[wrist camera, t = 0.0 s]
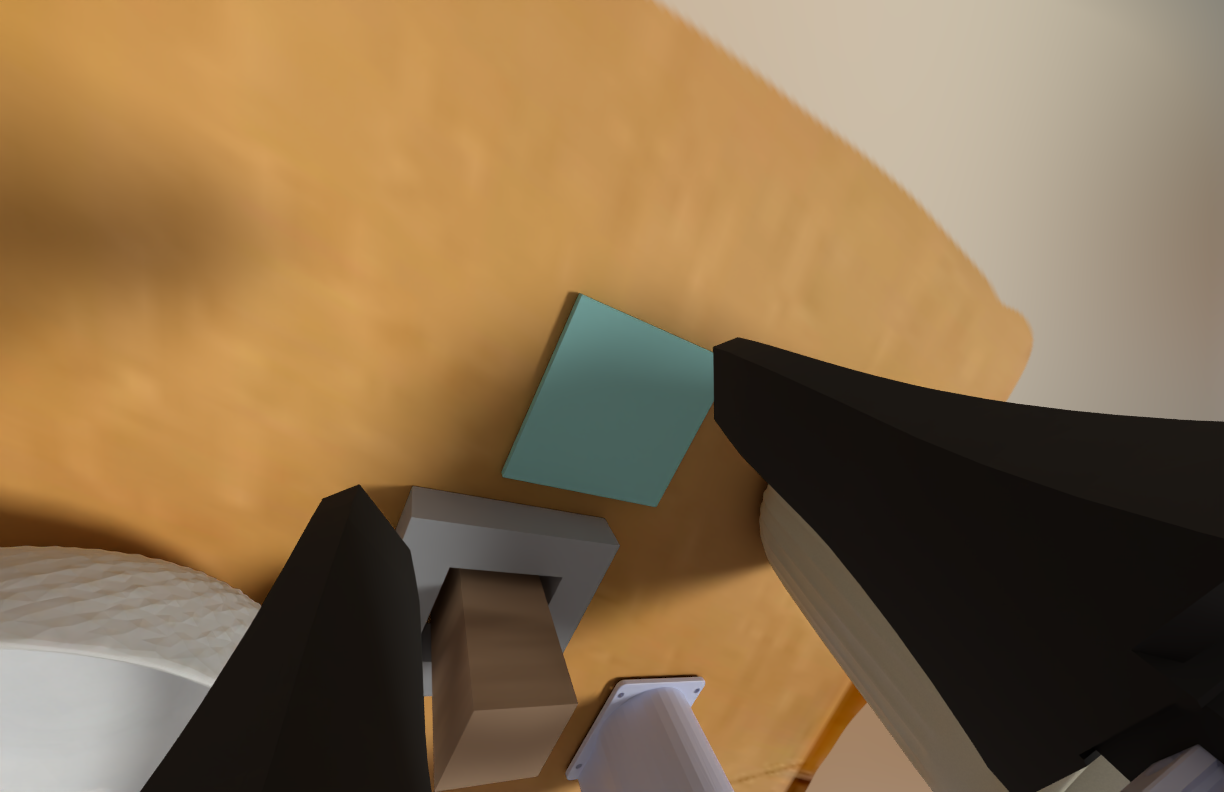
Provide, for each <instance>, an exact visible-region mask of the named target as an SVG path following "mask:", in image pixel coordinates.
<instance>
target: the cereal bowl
mask: <svg viewBox="0 0 1224 792" xmlns="http://www.w3.org/2000/svg"><path fill="white" fill-rule="evenodd" d="M260 608H261V605H260V604H259V603H257V602H254V601H253V600H252V599H250V598H249V597H248V596H247V595H245V594H243V592H242V591H241V590H240V589H236V588H232V587H231V586H230V585H229V584H228V583H226V582H223V581H219V580H217V579H216V578H214V577H211V576H208V575H207V574H205V573H204V572H202V571H196V570H193V569H192V568H190V567H185V566H180V565H177V564H175V563H173V562H168V561H164V560H162V559H153V558H148V557H145V556H143V555H141V554H126V553H122V552H117V551H107V550H102V549H83V548H77V547H60V546H48V547H36V546H18V547H0V792H140V791H141V789H142V788H143V786H144V785H145V784H146V782H147V781H148V779H149V778H150V777H151V775H152V774H153V773H154V771H155V770H156V768H157V767H158V766H159V764H160V763H161V761H162V760H163V759H164V757H165V756H166V754H167V753H168V751H169V750H170V748H171V747H172V746H173V744H174V743H175V741H176V740H177V738H178V737H179V735H180V734H181V733H182V731H183V730H184V728H185V727H186V725H187V724H188V722H189V721H190V719H191V718H192V716H193V715H194V713H195V712H196V710H197V709H198V707H199V706H200V704H201V703H202V701H203V699H204V698H205V696H206V695H207V693H208V691H209V690H210V688H211V687H212V685H213V684H214V682H215V680H216V679H217V677H218V676H219V674H220V672H221V671H222V669H223V668H224V666H225V665H226V663H227V661H228V660H229V658H230V657H231V655H232V653H233V652H234V650H235V649H236V647H237V645H238V644H239V642H240V641H241V639H242V638H243V636H244V634H245V633H246V631H247V630H248V628H249V626H250V625H251V623H252V621H253V620H254V618H255V616H256V615H257V613H258V611H259V609H260Z"/></svg>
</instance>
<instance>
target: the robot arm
mask: <svg viewBox="0 0 1224 792" xmlns="http://www.w3.org/2000/svg"><path fill="white" fill-rule="evenodd" d="M713 373H714V420H715V421H716V422H717V424H718V425H719V427H720V428H721V429H722V431H723V432H724V434H725V435H726V436H727V438H728V439H729V440H730V442H731V443H732V444H733V446H734V447H735V448H736V450H737V451H738V452H739V453H740V455H741V456H742V457H743V458H744V459H745V460H746V461H747V462H748V463H749V464H750V465H751V466H752V467H753V468H754V469H755V470H756V471H757V473H758V474H759V475H760V476H761V477H762V478H763V479H764V480H765V481H766V482H767V483H768V484H769V485H770V486H771V487H772V488H773V489H774V490H775V491H776V492H777V493H778V494H779V495H780V496H781V497H782V498H783V499H784V500H785V501H786V502H787V503H788V504H789V505H790V506H791V507H792V508H793V509H794V510H795V511H796V512H797V513H798V514H799V515H800V516H801V517H802V518H803V519H804V521H805V522H806V523H807V524H808V525H809V526H810V527H811V528H812V529H813V530H814V531H815V532H816V533H817V534H818V535H819V536H820V537H821V539H822V540H823V541H824V542H825V543H826V544H827V545H828V546H829V547H830V549H831V550H832V551H833V552H834V554H835V555H836V556H837V557H838V559H839V560H840V561H841V562H842V564H843V565H844V566H845V567H846V569H847V570H848V571H849V572H850V574H851V575H852V576H853V577H854V578H855V580H856V581H857V582H858V583H859V585H860V586H861V587H862V589H863V590H864V591H865V592H866V594H867V595H868V596H869V598H870V599H871V600H872V602H873V603H874V604H875V606H876V607H877V608H878V609H879V611H880V612H881V613H882V615H883V616H884V617H885V619H886V620H887V621H888V623H889V624H890V625H891V627H892V628H893V629H894V630H895V632H896V633H897V635H898V636H899V637H900V639H901V640H902V642H903V643H904V644H905V646H906V647H907V649H908V650H909V651H910V653H911V654H912V656H913V657H914V658H915V660H916V661H917V663H918V664H919V665H920V667H921V668H922V669H923V671H924V672H925V674H926V675H927V676H928V678H929V679H930V681H931V682H932V684H933V685H934V686H935V688H936V689H937V691H938V692H939V694H940V695H941V697H942V698H943V700H944V701H945V703H946V704H947V706H948V707H949V709H950V710H951V712H952V713H953V715H954V716H955V718H956V719H957V721H958V722H959V724H960V725H961V727H962V728H963V730H964V731H965V733H966V734H967V736H968V737H969V739H970V740H971V742H972V743H973V745H974V747H975V748H976V750H977V751H978V753H979V754H980V756H981V758H982V759H983V761H984V762H985V764H986V765H987V767H988V768H989V770H990V771H991V772H992V773H993V774H994V775H995V776H996V777H997V779H998V780H999V781H1000V782H1001V783H1002V784H1003V785H1004V786H1005V788H1006V789H1007V790H1008V791H1009V792H1037V791H1039V790H1041V789H1043V788H1045V787H1047V786H1049V785H1051V784H1053V783H1055V782H1057V781H1059V780H1061V779H1063V778H1065V777H1067V776H1069V775H1071V774H1073V773H1075V772H1077V771H1079V770H1081V769H1083V768H1085V767H1087V766H1088V765H1089V764H1091V763H1092V762H1093V761H1094V760H1095V759H1097V758H1098V757H1099V756H1100V755H1102V756H1103V757H1104V758H1105V759H1106V760H1107V761H1108V762H1110V763H1111V764H1112V765H1113V766H1114V767H1115V768H1116V769H1117V770H1118V771H1119V772H1120V773H1121V774H1122V775H1123V776H1125V777H1126V778H1127V779H1128V780H1129V781H1130V782H1131V783H1129V784H1128V785H1127V786H1126V787H1125V788H1123V789H1122V790H1121V791H1120V792H1224V422H1219V421H1217V422H1216V421H1194V420H1177V419H1164V418H1150V417H1137V416H1123V415H1112V414H1101V413H1091V412H1080V411H1071V410H1063V409H1055V408H1047V407H1039V406H1031V405H1023V404H1015V403H1009V402H1002V401H996V400H989V399H983V398H978V397H972V396H967V395H961V394H956V393H950V392H945V391H940V390H935V389H930V388H925V387H920V386H916V385H911V384H907V383H903V382H899V381H895V380H891V379H887V378H882V377H878V376H874V375H870V374H867V373H863V372H859V371H855V370H852V369H848V368H845V367H841V366H837V365H834V364H831V363H827V362H824V361H820V360H817V359H813V358H810V357H807V356H803V355H800V354H797V353H793V352H790V351H787V350H783V349H780V348H777V347H773V346H770V345H766V344H763V343H759V342H755V341H751V340H747V339H743V338H738V337H737V338H735V339H732V340H730V341H727V342H725V343H722V344H719V345H717V346H714V347H713ZM704 685H705V681H704V679H703V678H702V677H680V678H654V679H629V680H621V681H619V682H618V683H617V684H616V686H615V688H614V689H613V691H612V693H611V694H610V696H609V698H608V700H607V701H606V703H605V705H604V707H603V708H602V710H601V712H600V713H599V715H598V717H597V719H596V720H595V722H594V724H593V726H592V727H591V729H590V731H589V732H588V734H587V736H586V738H585V739H584V741H583V743H582V745H581V746H580V748H579V750H578V751H577V753H576V755H575V757H574V758H573V760H572V762H571V763H570V765H569V767H568V769H567V770H566V773H565V774H566V778H567V779H568V780H575V779H578V781H579V785H580V789H581V792H734V790H733V788H732V786H731V784H730V782H729V781H728V779H727V777H726V775H725V773H724V771H723V769H722V767H721V765H720V763H719V761H718V759H717V757H716V755H715V754H714V752H713V750H712V748H711V746H710V744H709V742H708V740H707V738H706V736H705V734H704V732H703V730H702V728H701V727H700V725H699V723H698V721H697V719H696V717H695V715H694V713H693V711H692V709H691V706H692V704H693V703H694V701H695V699H696V698H697V696H698V695H699V693H700V692H701V690H702V689H703V687H704ZM140 792H432V791H431V784H430V777H429V770H428V761H427V749H426V737H425V716H424V690H423V664H422V640H421V618H420V601H419V594H418V588H417V582H416V576H415V571H414V566H413V561H412V556H411V550H410V549H409V547H408V546H407V545H406V544H405V542H404V541H403V540H402V538H401V537H400V536H399V535H398V533H397V532H396V531H395V529H394V528H393V527H392V526H391V524H390V523H389V522H388V520H387V519H386V518H385V517H384V515H383V514H382V513H381V511H380V510H379V509H378V508H377V506H376V505H375V504H374V502H373V501H372V500H371V499H370V497H369V496H368V495H367V493H366V492H365V491H364V490H363V488H362V487H361V486H360V484H359V485H357V486H354V487H351V488H349V489H346V490H344V491H341V492H339V493H336V494H333V495H331V496H328V497H326V498H323V499H322V501H321V503H320V504H319V506H318V508H317V509H316V511H315V513H314V514H313V516H312V518H311V520H310V521H309V523H308V525H307V527H306V529H305V530H304V532H303V534H302V536H301V537H300V539H299V541H298V543H297V545H296V546H295V548H294V550H293V552H292V554H291V555H290V557H289V559H288V561H287V563H286V564H285V566H284V568H283V570H282V571H281V573H280V575H279V577H278V578H277V580H276V582H275V583H274V585H273V587H272V589H271V590H270V592H269V594H268V596H267V597H266V599H265V601H264V602H263V604H262V606H261V608H260V609H259V611H258V613H257V615H256V616H255V618H254V620H253V621H252V623H251V625H250V626H249V628H248V630H247V631H246V633H245V634H244V636H243V638H242V639H241V641H240V642H239V644H238V645H237V647H236V649H235V650H234V652H233V653H232V655H231V657H230V658H229V660H228V661H227V663H226V665H225V666H224V668H223V669H222V671H221V672H220V674H219V676H218V677H217V679H216V680H215V682H214V684H213V685H212V687H211V688H210V690H209V691H208V693H207V695H206V696H205V698H204V699H203V701H202V703H201V704H200V706H199V707H198V709H197V710H196V712H195V713H194V715H193V716H192V718H191V719H190V721H189V722H188V724H187V725H186V727H185V728H184V730H183V731H182V733H181V734H180V735H179V737H178V738H177V740H176V741H175V743H174V744H173V746H172V747H171V748H170V750H169V751H168V753H167V754H166V756H165V757H164V759H163V760H162V761H161V763H160V764H159V766H158V767H157V768H156V770H155V771H154V773H153V774H152V775H151V777H150V778H149V779H148V781H147V782H146V784H145V785H144V786H143V788H142V789H141V791H140Z"/></svg>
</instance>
